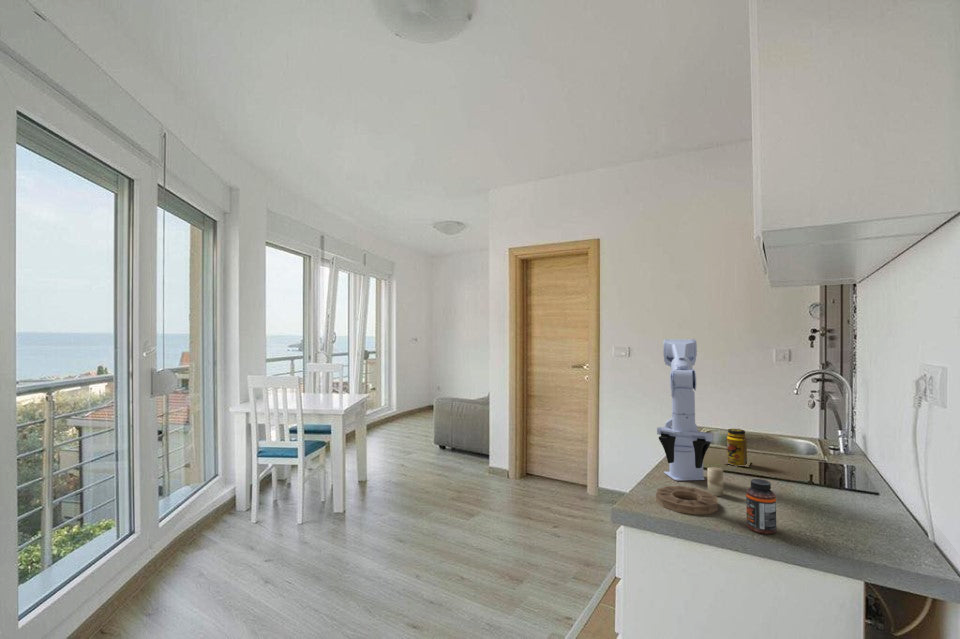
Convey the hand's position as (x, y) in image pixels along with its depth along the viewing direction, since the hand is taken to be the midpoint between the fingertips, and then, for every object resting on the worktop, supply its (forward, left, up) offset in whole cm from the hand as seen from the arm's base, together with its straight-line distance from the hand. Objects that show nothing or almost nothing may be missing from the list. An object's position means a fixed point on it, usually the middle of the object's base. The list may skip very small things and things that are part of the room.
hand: (684, 465), depth 121 cm
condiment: (-38, -34, -11) cm, 52 cm away
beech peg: (-13, -7, -11) cm, 18 cm away
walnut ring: (-1, -1, -11) cm, 11 cm away
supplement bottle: (-10, +16, -11) cm, 22 cm away
